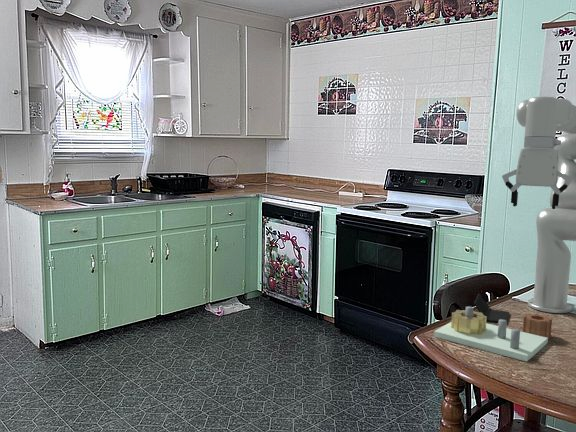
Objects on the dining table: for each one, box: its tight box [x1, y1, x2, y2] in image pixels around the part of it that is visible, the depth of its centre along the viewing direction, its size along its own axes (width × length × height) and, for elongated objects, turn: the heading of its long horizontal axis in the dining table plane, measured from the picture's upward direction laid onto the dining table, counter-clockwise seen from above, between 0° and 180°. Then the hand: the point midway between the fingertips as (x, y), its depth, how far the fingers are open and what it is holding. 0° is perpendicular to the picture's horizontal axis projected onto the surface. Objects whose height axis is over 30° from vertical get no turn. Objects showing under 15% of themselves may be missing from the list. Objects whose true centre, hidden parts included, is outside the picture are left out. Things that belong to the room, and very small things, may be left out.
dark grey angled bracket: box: [473, 293, 510, 324], centre depth 161 cm, size 12×7×10 cm
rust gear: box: [522, 313, 553, 340], centre depth 146 cm, size 7×7×5 cm
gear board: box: [433, 306, 549, 362], centre depth 142 cm, size 16×24×8 cm, turn 48°
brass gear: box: [450, 309, 487, 335], centre depth 146 cm, size 9×9×4 cm
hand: (533, 207), depth 147 cm, fingers open, 9 cm apart
